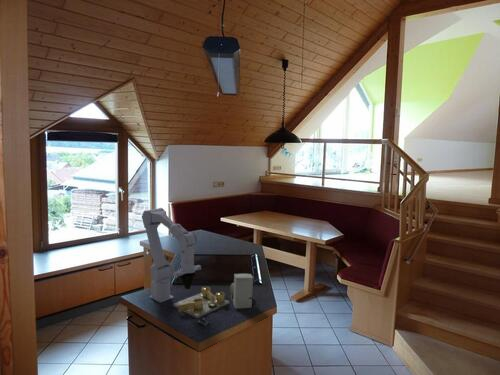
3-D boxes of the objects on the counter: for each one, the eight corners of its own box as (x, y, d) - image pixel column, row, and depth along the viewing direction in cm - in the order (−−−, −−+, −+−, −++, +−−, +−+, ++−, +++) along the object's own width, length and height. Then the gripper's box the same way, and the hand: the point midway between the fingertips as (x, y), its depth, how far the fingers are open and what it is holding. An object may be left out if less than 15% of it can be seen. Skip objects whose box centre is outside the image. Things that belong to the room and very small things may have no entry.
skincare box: (234, 309, 165) (235, 278, 163) (232, 303, 170) (233, 273, 169) (252, 307, 166) (253, 277, 165) (250, 302, 172) (250, 272, 170)
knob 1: (200, 304, 165) (201, 296, 164) (204, 308, 161) (204, 300, 161) (177, 309, 160) (177, 301, 159) (180, 313, 156) (180, 305, 155)
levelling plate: (172, 306, 166) (172, 295, 165) (205, 293, 181) (205, 283, 180) (196, 318, 155) (196, 306, 154) (229, 303, 170) (229, 292, 169)
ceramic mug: (232, 293, 182) (232, 279, 181) (248, 295, 180) (248, 280, 179) (227, 302, 172) (227, 287, 171) (243, 304, 170) (244, 289, 169)
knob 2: (200, 294, 176) (200, 286, 176) (208, 292, 178) (208, 285, 178) (208, 303, 166) (208, 295, 166) (217, 301, 169) (217, 293, 168)
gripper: (180, 265, 153) (180, 295, 155) (205, 258, 164) (205, 286, 165) (170, 261, 158) (170, 291, 159) (195, 254, 168) (195, 282, 170)
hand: (187, 288), depth 163 cm, fingers closed
